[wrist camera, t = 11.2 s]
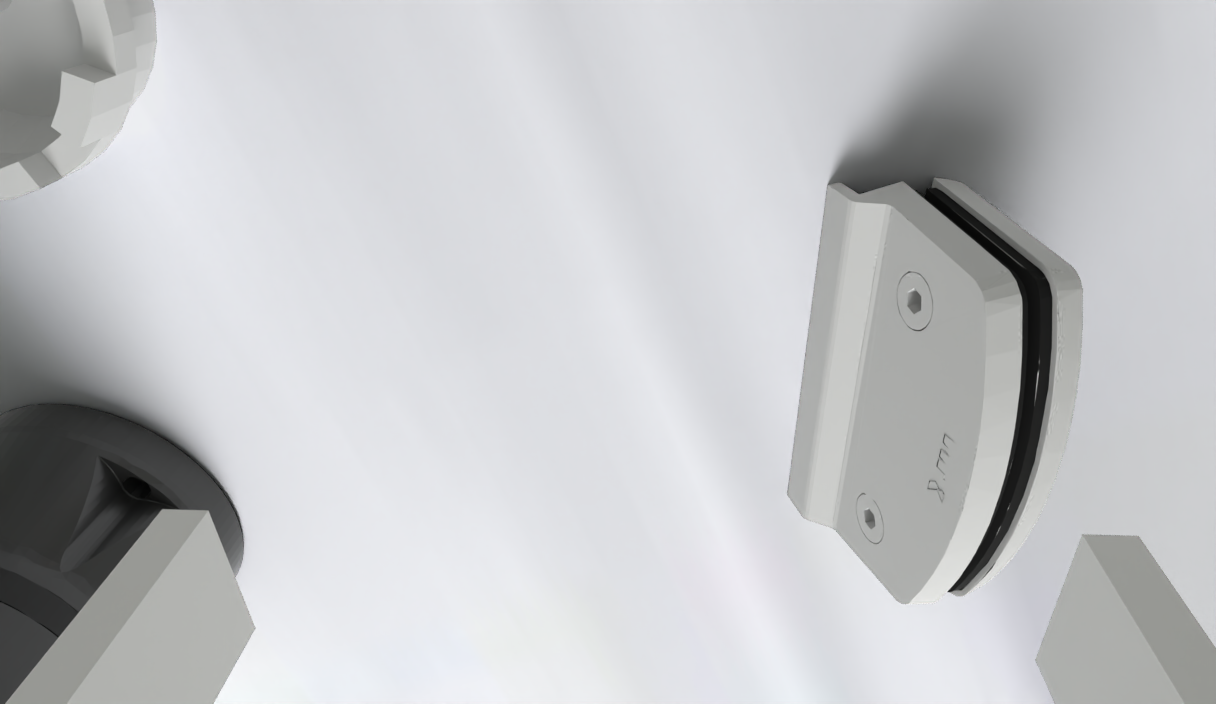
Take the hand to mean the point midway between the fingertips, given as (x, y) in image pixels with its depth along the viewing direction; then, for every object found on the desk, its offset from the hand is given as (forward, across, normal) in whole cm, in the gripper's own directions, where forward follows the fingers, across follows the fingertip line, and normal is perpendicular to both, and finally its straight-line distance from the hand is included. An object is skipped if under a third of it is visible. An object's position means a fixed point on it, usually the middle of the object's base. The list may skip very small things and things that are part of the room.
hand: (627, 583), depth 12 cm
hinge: (+22, -10, +9) cm, 26 cm away
